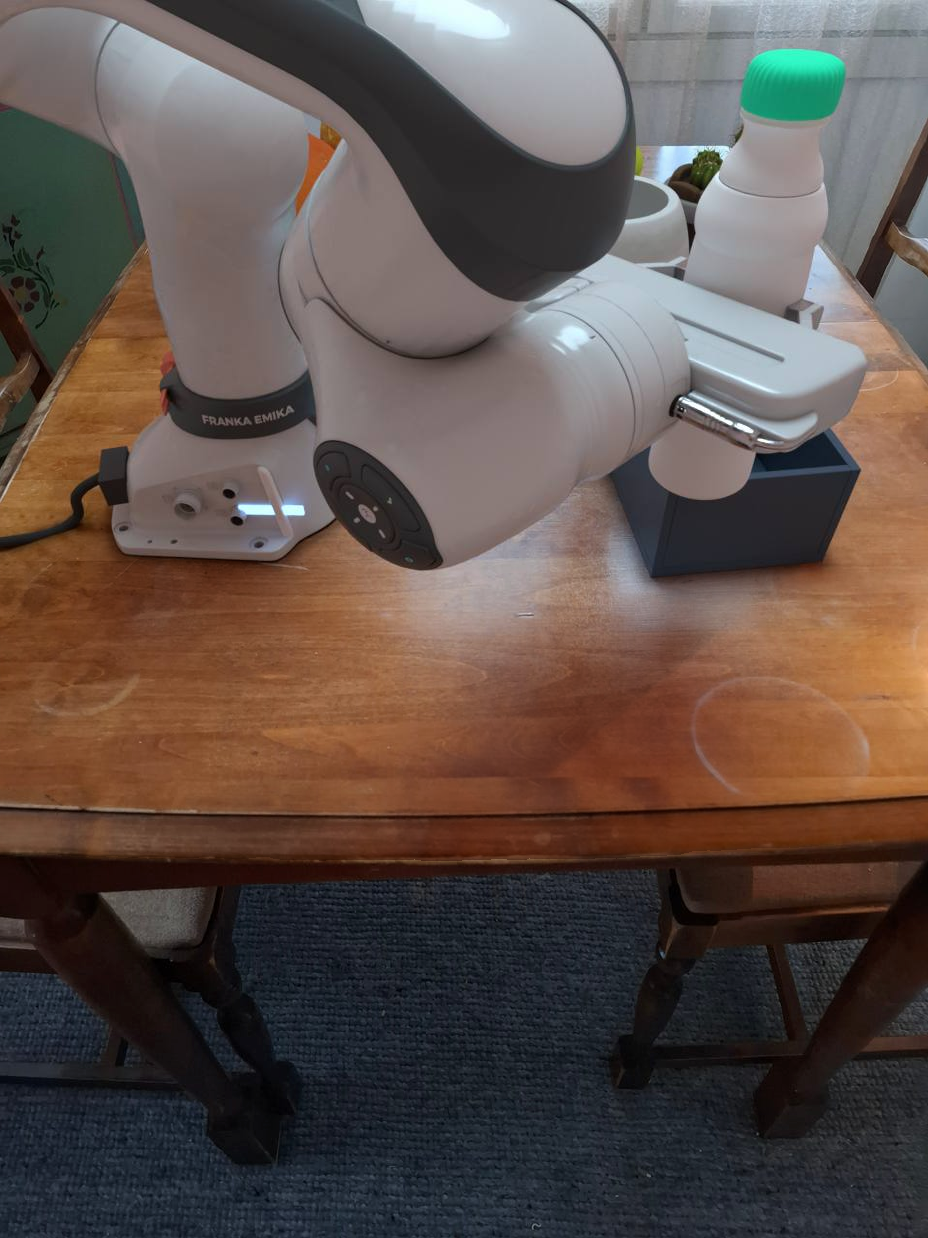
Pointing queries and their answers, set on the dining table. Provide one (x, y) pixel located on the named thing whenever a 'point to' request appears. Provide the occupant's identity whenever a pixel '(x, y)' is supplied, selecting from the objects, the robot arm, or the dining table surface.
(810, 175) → the water bottle
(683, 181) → the flowerpot
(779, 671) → the dining table surface
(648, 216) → the planter
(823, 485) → the bin
